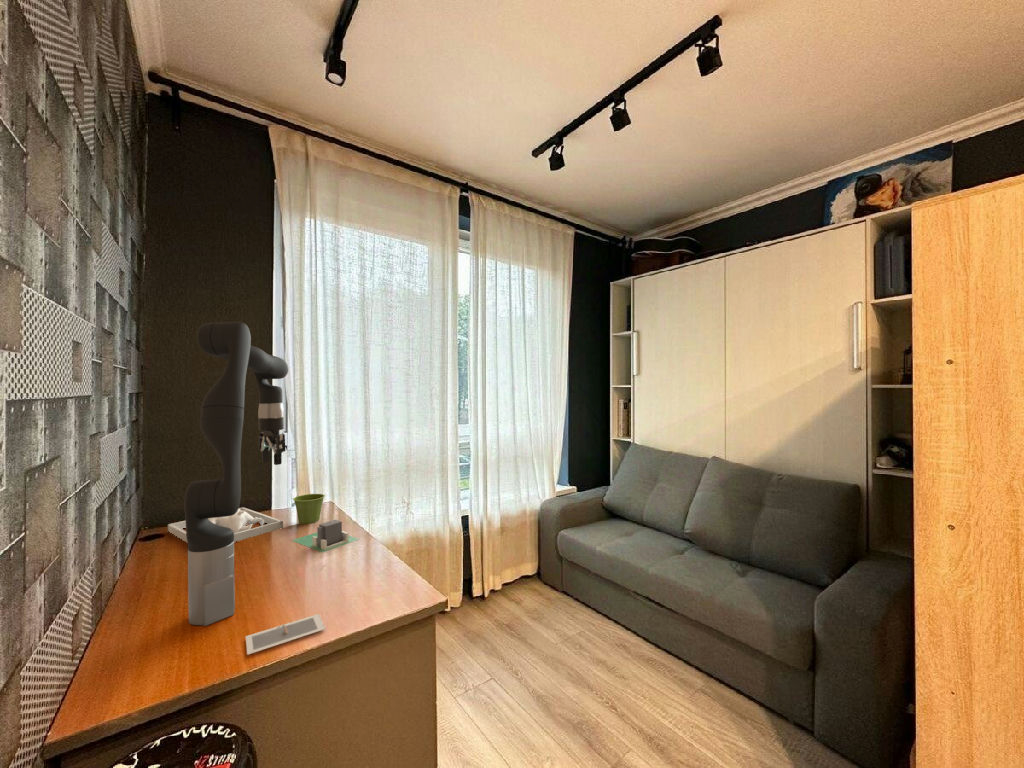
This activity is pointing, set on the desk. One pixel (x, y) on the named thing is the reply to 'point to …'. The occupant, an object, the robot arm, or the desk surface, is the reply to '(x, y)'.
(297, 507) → the plant pot
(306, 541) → the board
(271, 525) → the light grey flat tray
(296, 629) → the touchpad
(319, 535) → the plug
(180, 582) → the desk surface
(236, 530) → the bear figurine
